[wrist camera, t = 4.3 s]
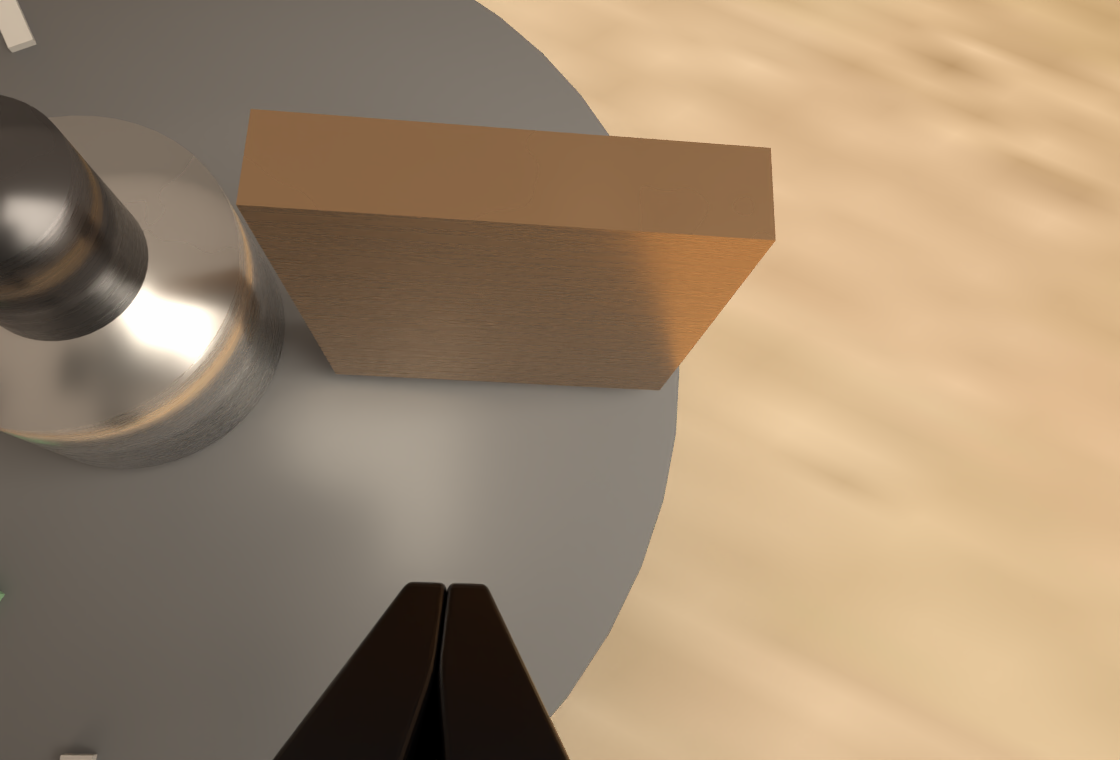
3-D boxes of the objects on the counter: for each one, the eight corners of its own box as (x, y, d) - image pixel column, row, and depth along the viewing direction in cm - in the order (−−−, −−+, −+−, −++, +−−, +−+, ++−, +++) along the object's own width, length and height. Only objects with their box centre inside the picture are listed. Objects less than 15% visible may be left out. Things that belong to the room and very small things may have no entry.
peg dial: (-529, 442, 13) (-1376, 293, 7) (-417, 170, 15) (-1048, -147, 9) (660, 490, 15) (783, 400, 9) (658, 240, 16) (763, 13, 10)
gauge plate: (-230, 1221, 12) (-304, 1283, 11) (-510, 145, 16) (-586, 109, 15) (850, 568, 16) (878, 564, 15) (412, -155, 21) (408, -202, 19)
